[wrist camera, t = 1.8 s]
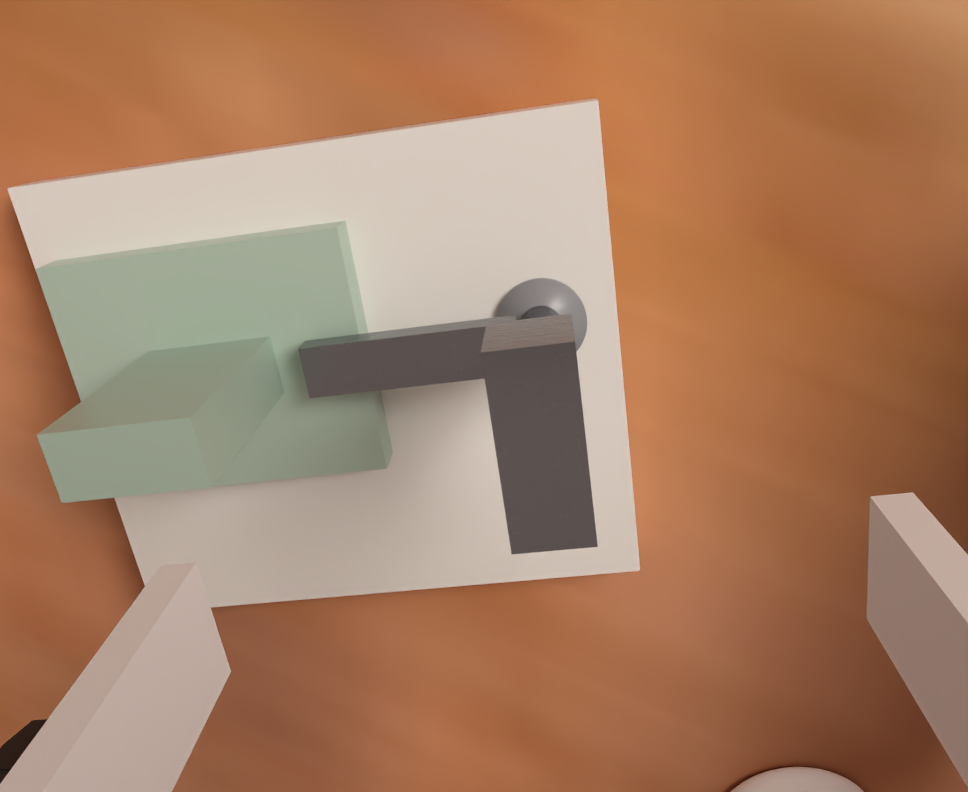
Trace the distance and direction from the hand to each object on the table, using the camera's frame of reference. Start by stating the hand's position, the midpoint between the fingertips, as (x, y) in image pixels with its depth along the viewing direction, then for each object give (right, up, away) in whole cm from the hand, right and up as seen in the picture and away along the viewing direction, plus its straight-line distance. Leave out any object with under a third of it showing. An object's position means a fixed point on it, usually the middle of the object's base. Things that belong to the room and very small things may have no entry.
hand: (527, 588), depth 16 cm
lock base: (-7, +5, +20) cm, 22 cm away
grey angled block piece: (-2, +6, +17) cm, 18 cm away
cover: (-11, +5, +18) cm, 22 cm away
